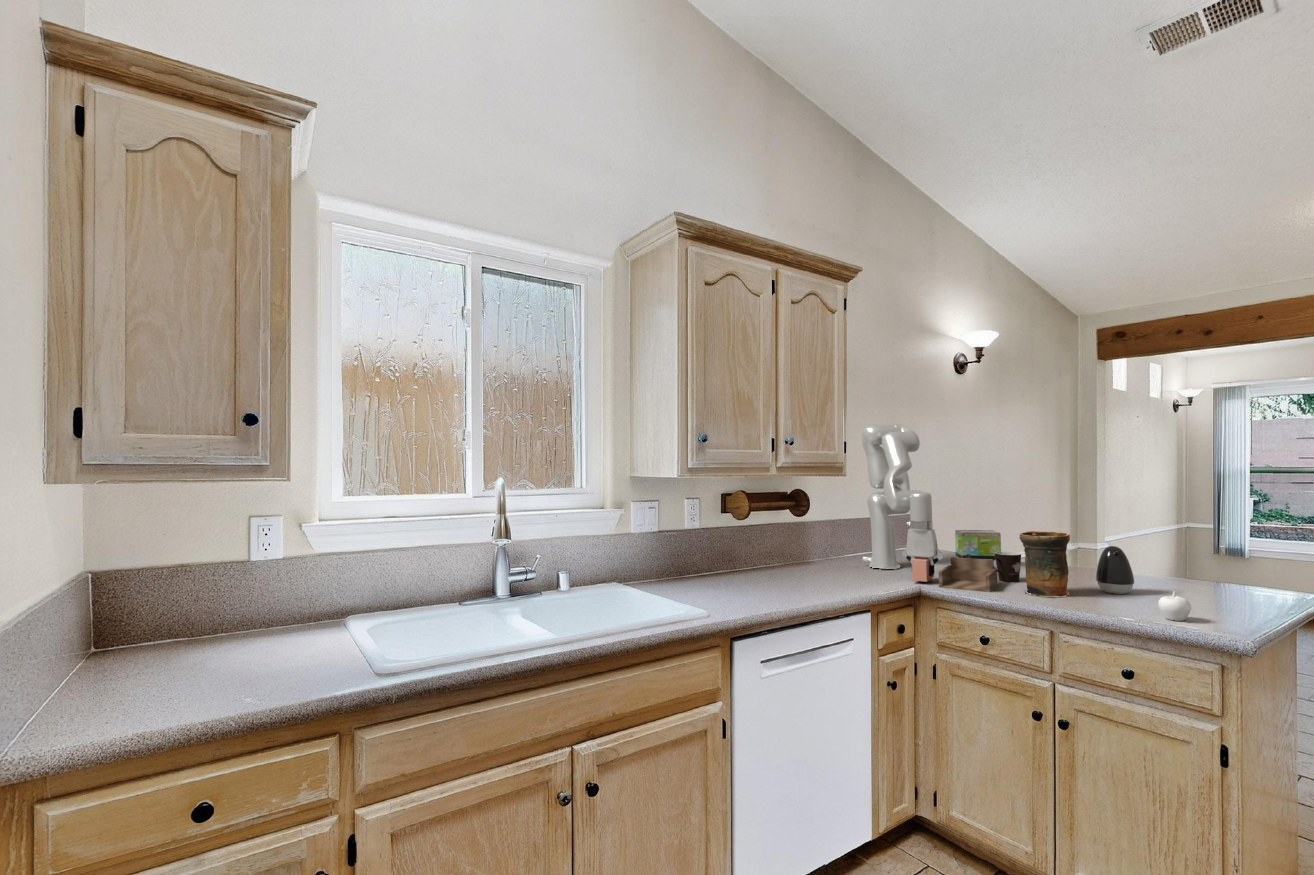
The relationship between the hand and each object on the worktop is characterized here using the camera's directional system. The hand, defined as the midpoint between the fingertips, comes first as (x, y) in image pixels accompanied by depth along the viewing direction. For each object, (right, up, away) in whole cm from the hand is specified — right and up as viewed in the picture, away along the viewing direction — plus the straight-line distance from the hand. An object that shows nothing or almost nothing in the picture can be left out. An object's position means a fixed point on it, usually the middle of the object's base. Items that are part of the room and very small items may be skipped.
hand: (923, 574), depth 234 cm
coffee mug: (+29, -2, -2) cm, 29 cm away
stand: (+12, -2, -10) cm, 16 cm away
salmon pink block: (0, -2, 0) cm, 2 cm away
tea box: (+35, -3, +29) cm, 46 cm away
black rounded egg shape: (+52, -1, -26) cm, 58 cm away
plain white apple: (+43, +1, -61) cm, 75 cm away
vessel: (+31, -1, -25) cm, 39 cm away
